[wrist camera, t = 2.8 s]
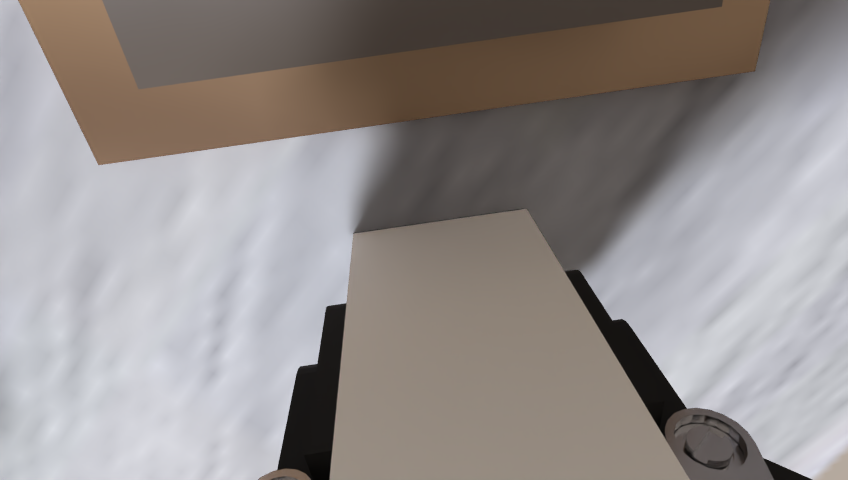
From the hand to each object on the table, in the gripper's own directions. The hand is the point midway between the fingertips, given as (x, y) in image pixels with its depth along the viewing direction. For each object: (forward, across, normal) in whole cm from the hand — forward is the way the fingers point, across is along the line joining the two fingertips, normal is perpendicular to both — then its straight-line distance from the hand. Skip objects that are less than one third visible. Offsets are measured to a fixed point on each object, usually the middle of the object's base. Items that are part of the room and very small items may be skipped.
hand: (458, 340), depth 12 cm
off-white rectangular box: (+2, 0, 0) cm, 2 cm away
